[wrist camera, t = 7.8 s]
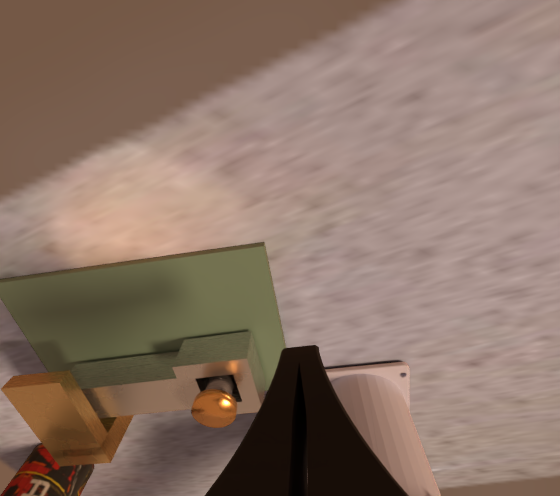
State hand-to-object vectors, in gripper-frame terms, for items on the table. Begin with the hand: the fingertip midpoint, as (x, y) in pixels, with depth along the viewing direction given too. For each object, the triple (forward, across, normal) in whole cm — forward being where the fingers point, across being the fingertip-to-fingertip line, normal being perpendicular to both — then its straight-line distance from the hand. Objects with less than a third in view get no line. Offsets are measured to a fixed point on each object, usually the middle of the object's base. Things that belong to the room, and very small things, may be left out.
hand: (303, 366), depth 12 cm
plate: (+9, +12, +5) cm, 16 cm away
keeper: (+9, +18, +8) cm, 21 cm away
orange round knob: (+9, +6, +8) cm, 13 cm away
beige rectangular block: (+9, +11, +8) cm, 16 cm away
